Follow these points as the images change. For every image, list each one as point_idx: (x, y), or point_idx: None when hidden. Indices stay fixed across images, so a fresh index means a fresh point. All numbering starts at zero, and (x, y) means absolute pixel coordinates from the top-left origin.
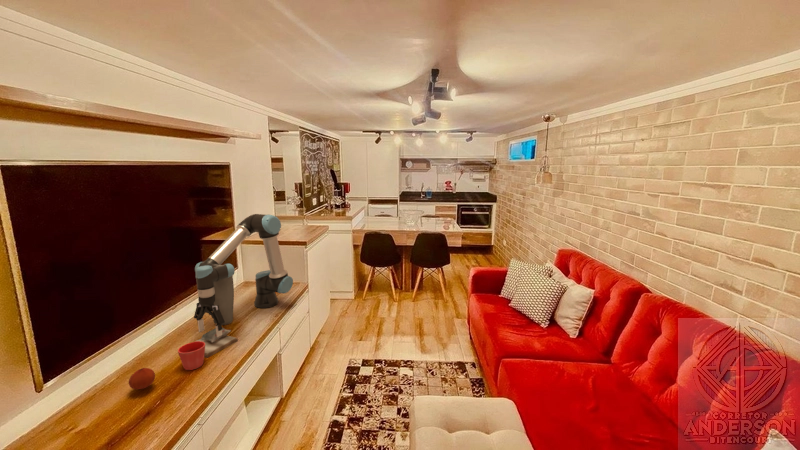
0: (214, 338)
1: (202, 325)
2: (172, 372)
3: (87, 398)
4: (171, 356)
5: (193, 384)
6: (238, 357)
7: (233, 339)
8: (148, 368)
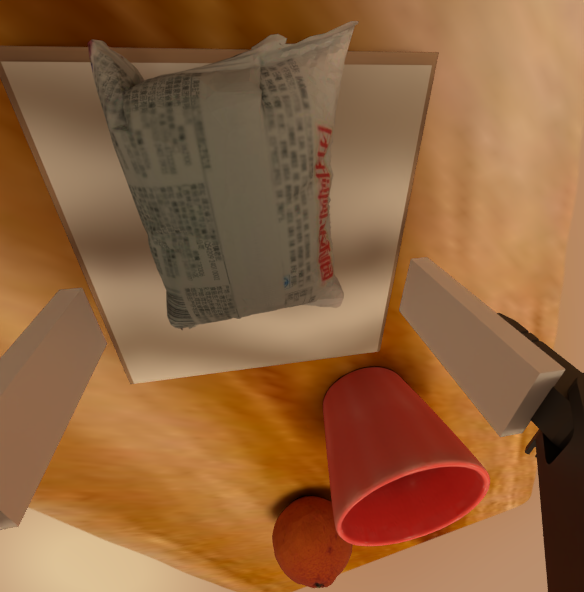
0: (337, 287)
1: (51, 364)
2: (319, 448)
3: (215, 565)
4: (158, 419)
5: (463, 433)
6: (556, 252)
7: (421, 108)
8: (321, 565)
